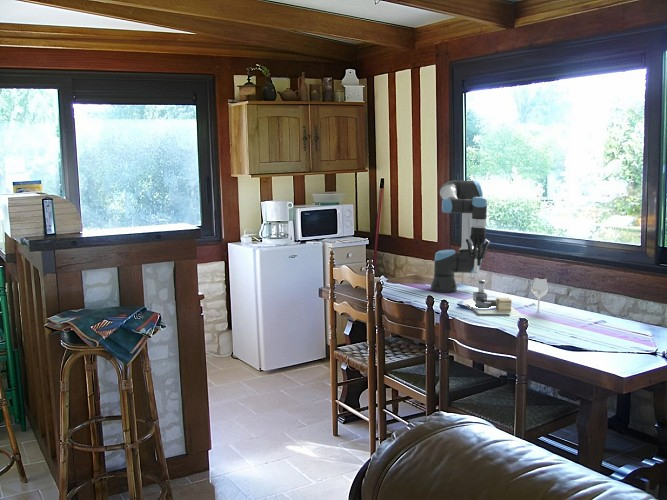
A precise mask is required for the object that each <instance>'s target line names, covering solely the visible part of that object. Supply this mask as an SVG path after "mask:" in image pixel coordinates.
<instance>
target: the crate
mask: <svg viewBox="0 0 667 500" xmlns="http://www.w3.org/2000/svg"><path fill="white" fill-rule="evenodd" d="M495 300H496V309H497V310H498V311H499V312H511V306H512V299H511V298H509V297H496V299H495Z"/></svg>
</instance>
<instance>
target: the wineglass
mask: <svg viewBox="0 0 667 500" xmlns="http://www.w3.org/2000/svg"><path fill="white" fill-rule="evenodd" d="M530 291H531V293H532V294H533V295H534V296H535V297H536V298H537V310H536V313H538V314H539V313H541V311H540V300H541V298H543V297H544V296H545V295H547V293H548V291H549V285H548V281H547V278H546V277H545V276H544V277H543V276H535V277H533V280H532V283H531V286H530Z"/></svg>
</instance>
